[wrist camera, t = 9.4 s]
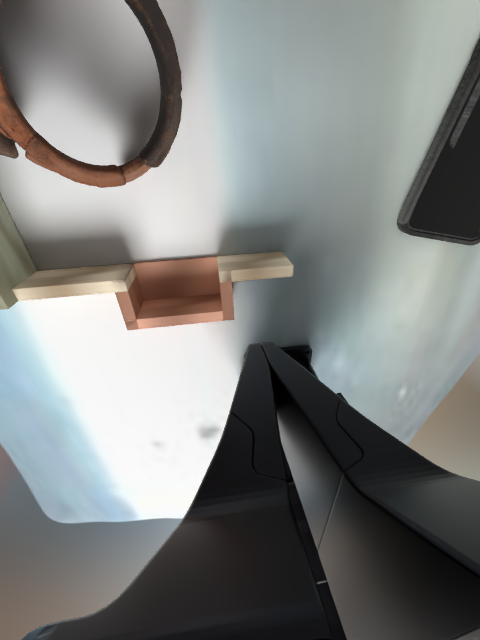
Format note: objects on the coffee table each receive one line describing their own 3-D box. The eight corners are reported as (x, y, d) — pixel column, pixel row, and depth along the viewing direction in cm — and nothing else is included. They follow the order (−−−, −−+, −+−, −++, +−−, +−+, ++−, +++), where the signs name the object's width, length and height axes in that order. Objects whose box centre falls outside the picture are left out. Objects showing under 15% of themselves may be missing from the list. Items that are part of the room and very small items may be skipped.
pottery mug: (40, -157, 10) (91, -266, 6) (169, 108, 18) (231, 143, 14) (-211, 22, 10) (-351, 43, 6) (31, 213, 18) (51, 282, 14)
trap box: (304, -229, 10) (356, -421, 7) (279, 295, 22) (293, 320, 19) (-253, -270, 8) (-548, -544, 5) (48, 317, 21) (19, 349, 17)
